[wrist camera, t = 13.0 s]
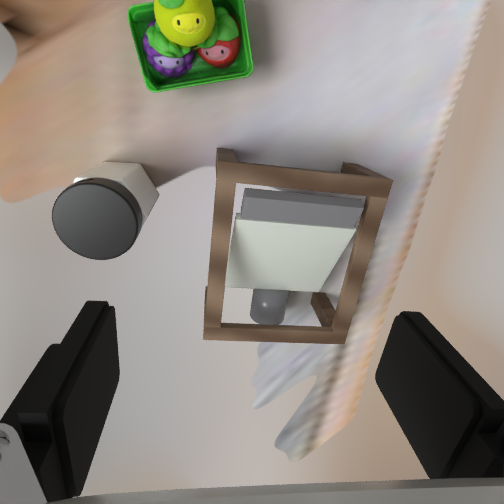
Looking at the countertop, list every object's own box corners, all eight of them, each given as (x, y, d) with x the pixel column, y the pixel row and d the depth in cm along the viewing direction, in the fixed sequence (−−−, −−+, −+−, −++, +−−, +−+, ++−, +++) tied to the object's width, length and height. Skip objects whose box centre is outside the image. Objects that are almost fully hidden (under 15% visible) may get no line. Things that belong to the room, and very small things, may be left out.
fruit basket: (155, 95, 40) (135, 93, 29) (131, 4, 36) (99, -33, 26) (249, 78, 40) (262, 71, 30) (236, -14, 36) (246, -58, 26)
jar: (109, 144, 41) (72, 161, 30) (168, 180, 44) (154, 207, 33) (79, 204, 44) (35, 239, 33) (137, 234, 46) (114, 276, 36)
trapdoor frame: (216, 147, 43) (218, 160, 34) (357, 164, 46) (392, 180, 36) (204, 297, 52) (203, 339, 43) (322, 303, 55) (344, 344, 45)
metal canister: (256, 295, 46) (251, 325, 48) (292, 297, 47) (286, 326, 49) (252, 277, 51) (248, 305, 53) (285, 279, 52) (280, 306, 54)
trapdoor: (240, 187, 35) (240, 197, 34) (365, 199, 37) (368, 209, 36) (224, 278, 48) (224, 286, 48) (316, 283, 51) (318, 292, 50)
